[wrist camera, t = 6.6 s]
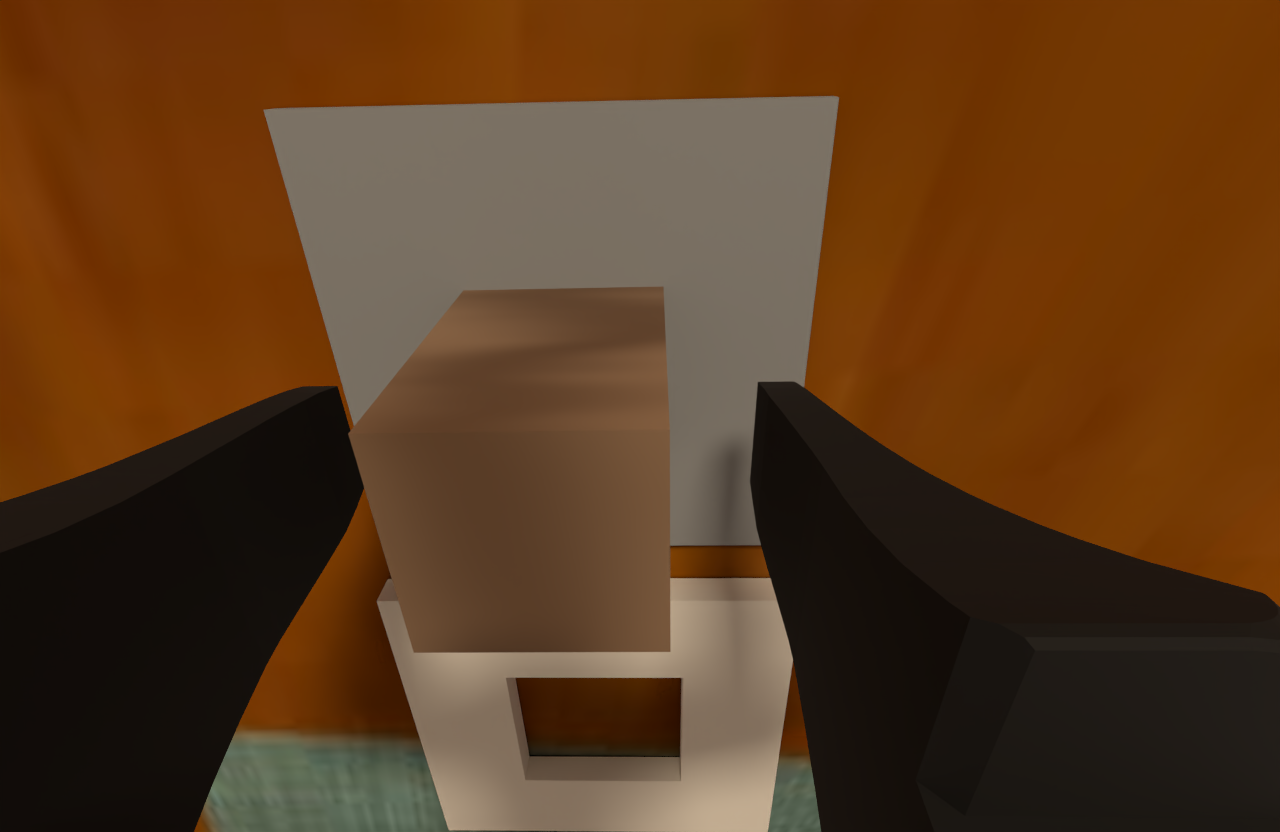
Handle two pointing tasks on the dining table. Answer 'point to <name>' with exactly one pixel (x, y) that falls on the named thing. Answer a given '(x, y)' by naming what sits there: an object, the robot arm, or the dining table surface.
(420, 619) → the block
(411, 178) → the mat
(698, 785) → the pocket plate
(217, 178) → the dining table surface
